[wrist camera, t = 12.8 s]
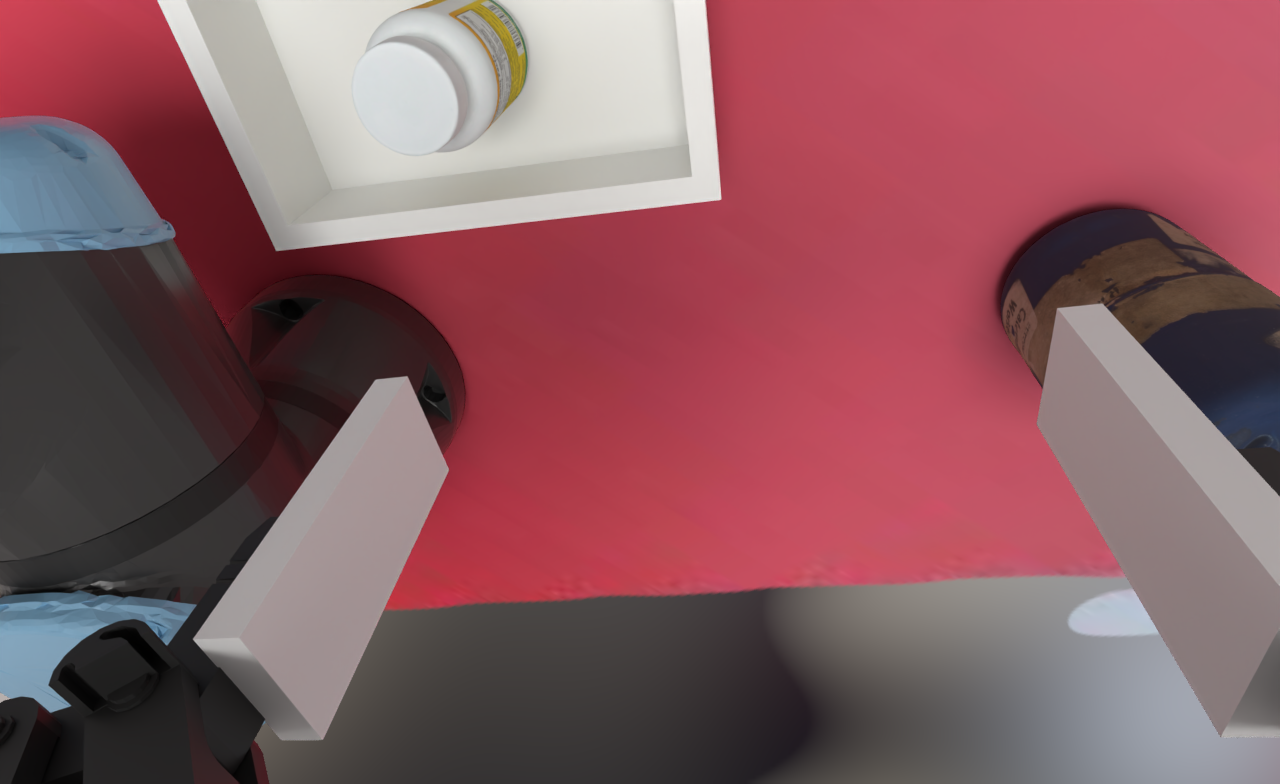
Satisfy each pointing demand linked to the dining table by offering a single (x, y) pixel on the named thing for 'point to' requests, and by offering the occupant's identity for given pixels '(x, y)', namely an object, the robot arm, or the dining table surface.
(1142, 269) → the canister
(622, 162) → the tote
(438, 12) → the supplement bottle
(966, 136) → the dining table surface
